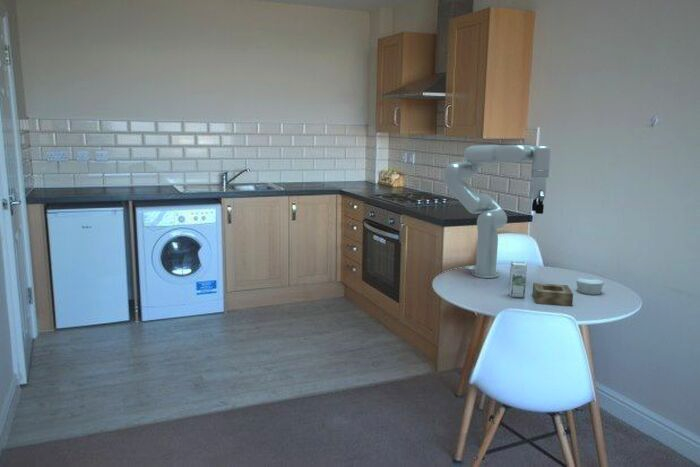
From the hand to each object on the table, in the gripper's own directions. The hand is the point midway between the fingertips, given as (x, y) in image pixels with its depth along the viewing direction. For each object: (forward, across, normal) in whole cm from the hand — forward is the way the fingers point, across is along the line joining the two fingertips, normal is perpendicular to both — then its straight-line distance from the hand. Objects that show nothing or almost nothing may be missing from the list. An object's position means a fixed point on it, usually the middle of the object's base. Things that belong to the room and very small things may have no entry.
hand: (537, 212), depth 263 cm
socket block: (+34, +25, +4) cm, 42 cm away
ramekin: (+34, +8, +23) cm, 42 cm away
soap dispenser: (+34, +22, -10) cm, 41 cm away
